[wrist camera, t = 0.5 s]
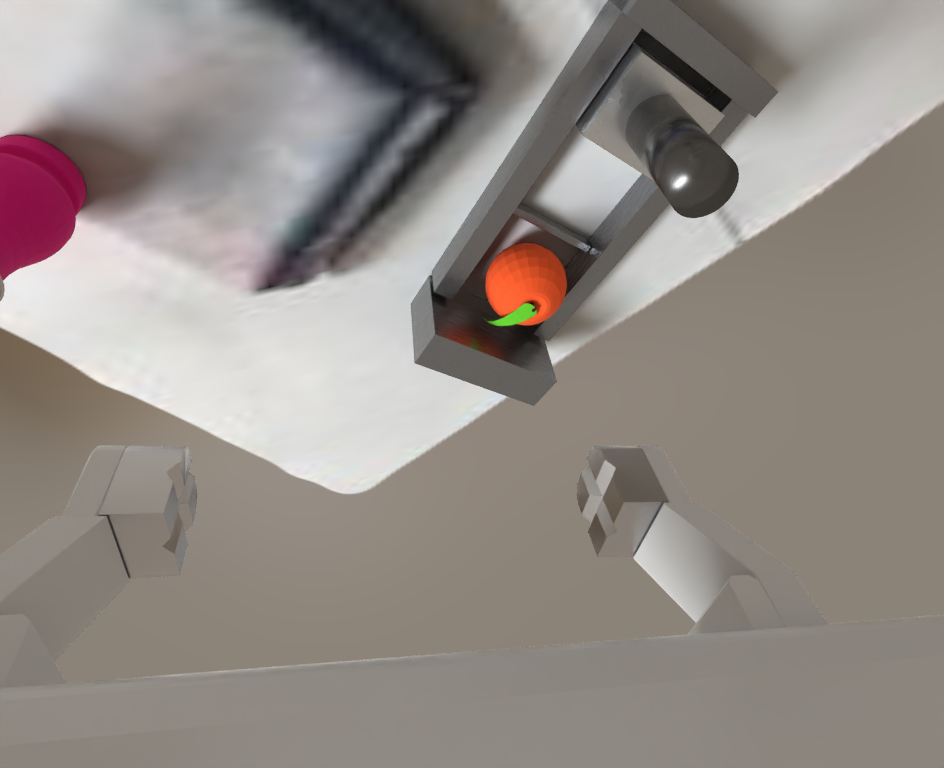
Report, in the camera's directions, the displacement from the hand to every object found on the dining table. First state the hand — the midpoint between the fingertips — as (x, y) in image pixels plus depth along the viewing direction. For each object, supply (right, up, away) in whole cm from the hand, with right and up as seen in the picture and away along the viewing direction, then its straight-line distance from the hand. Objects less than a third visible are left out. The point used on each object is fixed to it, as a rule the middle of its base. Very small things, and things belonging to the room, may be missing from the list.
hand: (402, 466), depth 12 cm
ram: (+14, +22, +32) cm, 41 cm away
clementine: (+5, +13, +41) cm, 43 cm away
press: (+9, +17, +37) cm, 41 cm away
